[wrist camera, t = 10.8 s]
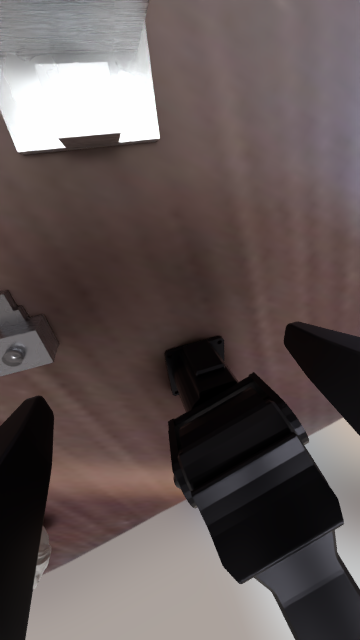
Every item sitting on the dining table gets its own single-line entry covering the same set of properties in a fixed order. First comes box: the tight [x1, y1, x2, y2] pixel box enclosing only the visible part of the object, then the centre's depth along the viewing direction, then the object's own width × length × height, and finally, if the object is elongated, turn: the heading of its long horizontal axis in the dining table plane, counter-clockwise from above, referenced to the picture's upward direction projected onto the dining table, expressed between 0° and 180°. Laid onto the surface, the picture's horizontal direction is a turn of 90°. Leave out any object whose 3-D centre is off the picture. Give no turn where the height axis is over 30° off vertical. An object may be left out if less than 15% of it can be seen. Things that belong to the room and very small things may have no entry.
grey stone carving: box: [33, 526, 51, 589], centre depth 28 cm, size 6×7×7 cm
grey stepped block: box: [0, 290, 59, 376], centre depth 16 cm, size 6×4×3 cm
